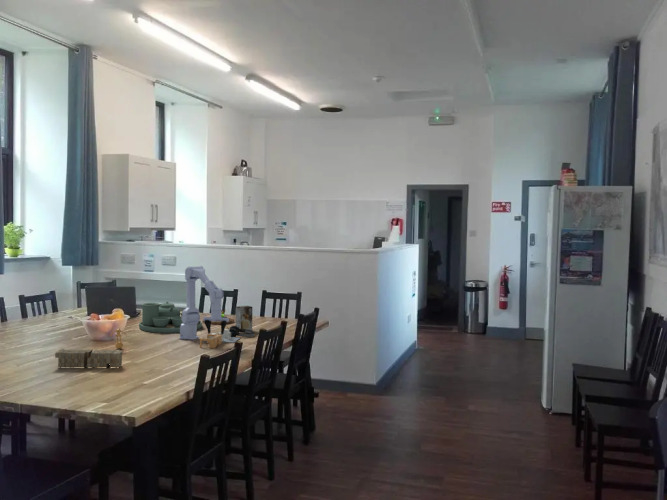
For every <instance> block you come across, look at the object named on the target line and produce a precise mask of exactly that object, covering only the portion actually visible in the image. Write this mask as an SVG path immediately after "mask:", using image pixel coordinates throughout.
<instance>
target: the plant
mask: <svg viewBox="0 0 667 500" xmlns="http://www.w3.org/2000/svg"><path fill="white" fill-rule="evenodd" d="M225 313H226V310H225V309H221V317H222V318H229V322H227V324H226V325H228V324H234V323H235V318H230V317H227V316H226V314H225ZM204 322H205V321H203V320H202V324H205V323H204ZM221 322H222V321H211V326H221Z"/></svg>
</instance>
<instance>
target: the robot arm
mask: <svg viewBox="0 0 667 500" xmlns="http://www.w3.org/2000/svg"><path fill="white" fill-rule="evenodd" d="M184 275H185V276H184V278H185V281H186V287H185V288H186V291H185V293H186V308H184V309H183V310H182V312H181V313H182V318H181V319H182V322H183V323H182V324H181V326H180V332H179V340H194V341H195V340H196V339H198V338H200V336H198V335H197V332H198V331H197V330H198V329H197V324H198V322H199V321H201V320H200V319H201V314H200V310H199V309H198V308H197V306H196V281H197V280H200V282H201V283H203V284H204V285H203V286H204V289H205V290H206V291H207V293H208V297H209V301H210V304H211V305H210V316H204V317H202V318H203V319H202V322H203V321H205V322H204V323H203V324H204V325H205V327H206V331H207V334H212V333H211V330H212V329H211V326H212V325H211V321H222V322H221V325H220V327H221V329H220V332H221V334H223V333H224V329H226V327H227V325H228V324H227V322H229V318H230V317H227V318H222V317H221V315H222V312H221V310H222V299H223V298H224V295H225V294H224V290H223V288H219V287H218V286H217V285H216V284H215V282H214V280H210V279H209V278H208V276H207V274H206V269H205V268H204V266H203V265H199V266H186V268H185V269H184ZM190 312H194V313H190Z"/></svg>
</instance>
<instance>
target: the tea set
mask: <svg viewBox="0 0 667 500" xmlns="http://www.w3.org/2000/svg"><path fill="white" fill-rule="evenodd" d="M141 306H142V308H141V309H142V311H141V312H142V315H141V318H142V319H141V322H139V323H138V327H139V329H140V330H142V331H143V332H149V333H154V332H155V333H157V334H158V333H159V334H173V333H175V334H176V333H179V334H180V326H181V324H182V323H183V322H182V319H181V318H182V312H181V310H180V309H179V308H178V307H177V306H175V303H172V302H168V301H166V302H162V303H158V302H143V303H141ZM190 313H194V312H190ZM202 326H203V322H202V321H201V320H199V322H198V324H197V330H200V329H201V328H202Z"/></svg>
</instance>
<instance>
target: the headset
mask: <svg viewBox="0 0 667 500" xmlns="http://www.w3.org/2000/svg"><path fill="white" fill-rule="evenodd" d="M226 329H229V332H231V337H240V338H241V337H243V338H254V337H255V331H253V330H252V331H251V330H246V329H239V328H238V327H237V326H236V325H231V326H230V327H228V326H226Z"/></svg>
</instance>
